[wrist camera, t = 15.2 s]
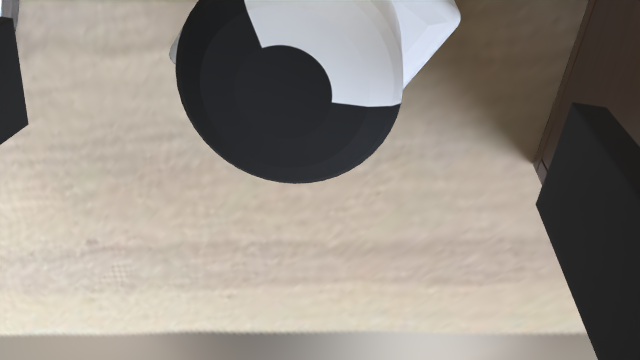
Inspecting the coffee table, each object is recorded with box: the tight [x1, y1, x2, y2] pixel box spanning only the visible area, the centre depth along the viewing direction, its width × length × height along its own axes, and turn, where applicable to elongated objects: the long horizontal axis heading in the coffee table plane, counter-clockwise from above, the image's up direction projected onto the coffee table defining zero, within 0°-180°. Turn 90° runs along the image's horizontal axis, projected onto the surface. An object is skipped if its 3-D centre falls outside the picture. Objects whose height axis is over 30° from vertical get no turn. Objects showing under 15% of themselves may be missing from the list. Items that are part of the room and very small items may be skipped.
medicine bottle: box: [169, 0, 461, 184], centre depth 20 cm, size 7×7×12 cm
